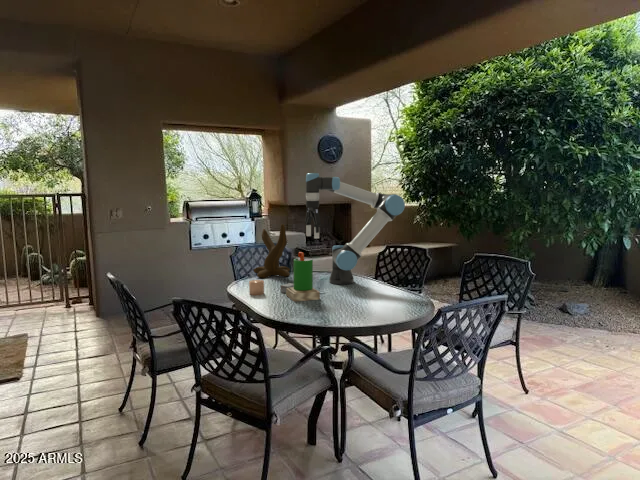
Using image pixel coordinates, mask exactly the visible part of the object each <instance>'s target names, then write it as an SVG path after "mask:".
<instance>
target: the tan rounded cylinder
mask: <svg viewBox="0 0 640 480" xmlns="http://www.w3.org/2000/svg"><path fill="white" fill-rule="evenodd" d="M248 284H249V285H248V286H249V287H248V288H249V291H248V293H249V295H250V296H255V297H256V296H262V295H264V294H265V281H264V280H262V279H253V280H252V279H251V280H249V283H248Z"/></svg>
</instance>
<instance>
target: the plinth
mask: <svg viewBox="0 0 640 480" xmlns="http://www.w3.org/2000/svg"><path fill="white" fill-rule="evenodd" d="M285 294H286V295H285V296H287V297H288V298H289V299H290V300H291V301H293V302H305V301H317V300H320V298H321V292H320V290H317V289H316V288H314V287H313V289H312V290H306V291H300V290H294V287H289V288H286V293H285Z"/></svg>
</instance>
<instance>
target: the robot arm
mask: <svg viewBox="0 0 640 480" xmlns="http://www.w3.org/2000/svg"><path fill="white" fill-rule="evenodd" d="M320 191H327V192H331V193H335V194H337V195H340V196H343V197H347V198H350V199H352V200H355V201H358V202H360V203H365V204H366V205H370V206H371V208H373V209H375V210H376V212H375V213H374V214H373V216H372V217H371V218H370V219H369V220H368V221H367V223H366V224H365V225H364V226H363V228H362V229H360V231H359V232H358V233H357V234H356V235H355V237H354V238H353V239H352V240H351V241H350V242H346V243H345V244H344V245H333V246H332V248H331V249H332V250H331V252H332V254H331V255H332V256H331V259H332V261H331V264H332V265H331V267H332V268H331V269H332V270H331V272H330V276H329V283H330V284H333V285H349V284H350V285H351V284H353V283H354V281H355V280H354V279H355V278H354V275H353V273H352V270H353V269H354V268H355V267H356V266H357V263H358V261H359V260H360V258H362V252H363V251H364V250H365V249H366V247H368V245H370V243H371V242H372V240H373V239H374V238H375V237H376V236H377V235H378V234H379V233H380V231H381V230H382V229H383V228H384V227H385V226H386V224H388V222H392V221H394V219H395V218H397V216H399V215H401V214H402V213H403V212H404V210H405V207H406V205H405V200H404V198H403V197H402V196H400V195H398V194H390V193H389V194H388V193H387V194H385V193H381V192H376V193H375V192H372V191H369V190H366V189H363V188H361V187H357V186H354V185H351V184H348V183H347V182H346V183H345V182H343V181H341V179H340V177H338V176H320V173H319V172H317V173H316V172H310V173H309V172H308V173H306V175H305V195H304V196H305V199H306V201H305V206H306V213H305V219H304V224H305V225H306V226H305V227H306V229H305V230H306V231H305V232H306V237H312V221H313V224H314V225H313V228H314V229H313V232H314V234H313V235H314V236H313V239H320V227H321V226H322V224H321V217H320V209H319V207H320V201H319V200H320Z"/></svg>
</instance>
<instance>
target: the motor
mask: <svg viewBox="0 0 640 480" xmlns="http://www.w3.org/2000/svg"><path fill="white" fill-rule="evenodd" d="M297 254H298V257H299V258H294V259H293V284H294V290H300V291H306V290H312V289H313V288H314V286H313V285H314V284H313V283H314V282H313V281H314V280H313V278H314V277H313V276H314V275H313V271H314V270H313V269H314V267H313V266H314V264H313V262H314V260H313V259H309V260H305V254H304V252H302V251H299V252H298V253H297Z"/></svg>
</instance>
